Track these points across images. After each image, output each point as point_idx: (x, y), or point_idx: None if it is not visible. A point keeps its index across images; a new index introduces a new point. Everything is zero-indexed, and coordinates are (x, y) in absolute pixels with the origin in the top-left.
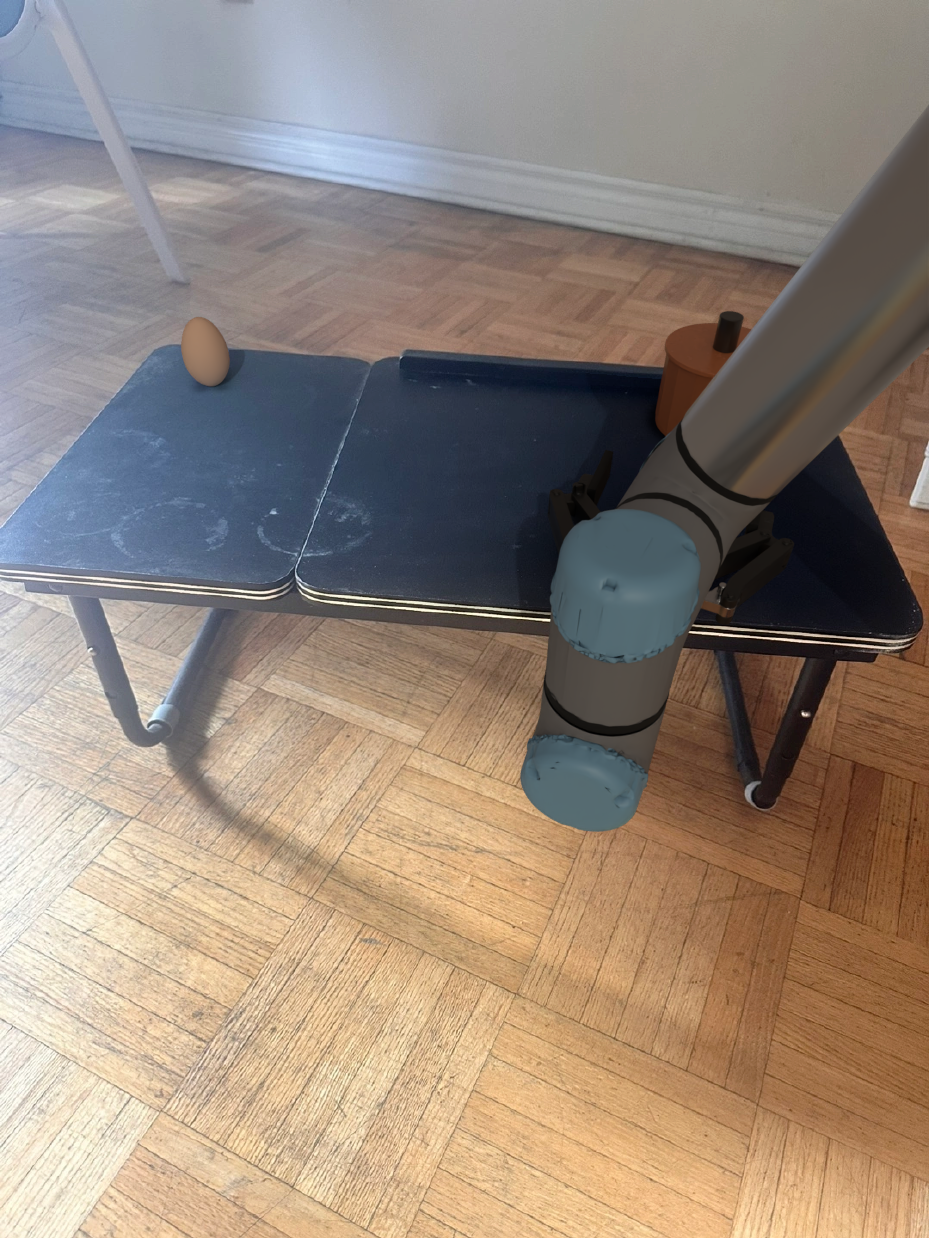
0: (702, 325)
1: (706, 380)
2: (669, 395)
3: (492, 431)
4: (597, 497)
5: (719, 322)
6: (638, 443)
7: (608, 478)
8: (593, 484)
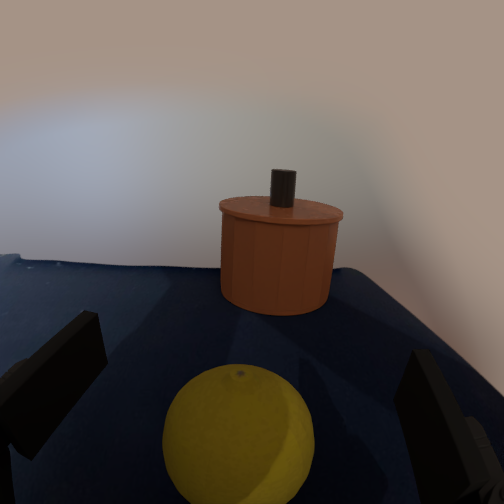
0: (256, 196)
1: (268, 228)
2: (229, 255)
3: (46, 302)
4: (40, 418)
5: (272, 175)
6: (199, 312)
7: (102, 368)
8: (5, 389)
